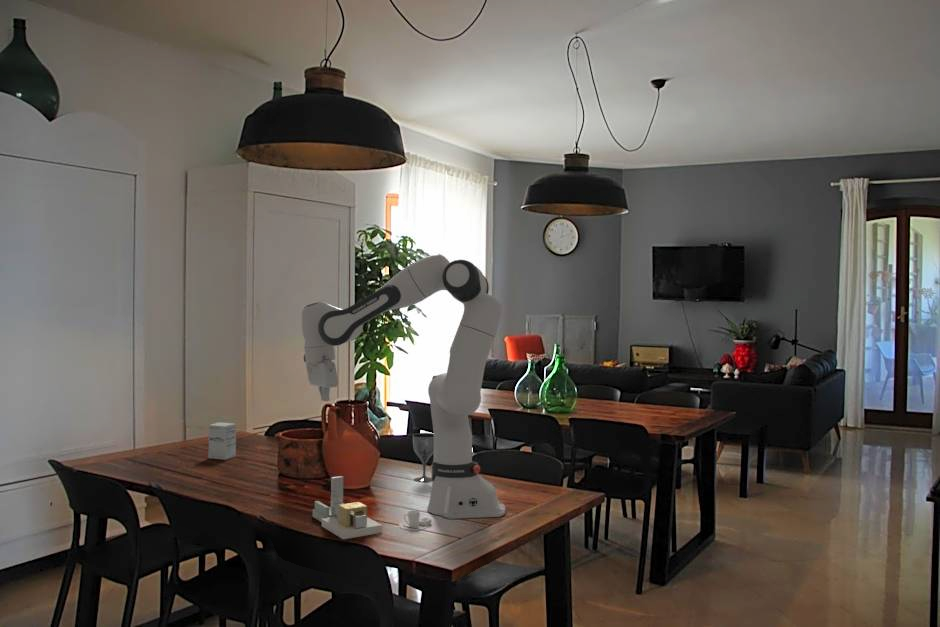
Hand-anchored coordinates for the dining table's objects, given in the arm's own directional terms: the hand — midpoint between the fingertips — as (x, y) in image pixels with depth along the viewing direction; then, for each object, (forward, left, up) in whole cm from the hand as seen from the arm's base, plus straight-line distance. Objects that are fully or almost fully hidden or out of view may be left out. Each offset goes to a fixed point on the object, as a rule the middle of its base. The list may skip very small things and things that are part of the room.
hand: (325, 400), depth 242 cm
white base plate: (-13, +33, -29) cm, 46 cm away
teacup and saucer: (-32, +31, -30) cm, 53 cm away
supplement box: (+48, -55, -30) cm, 78 cm away
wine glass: (-29, -24, -30) cm, 48 cm away
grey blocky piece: (-6, +23, -29) cm, 38 cm away
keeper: (-13, +35, -27) cm, 46 cm away
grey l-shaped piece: (-12, +33, -27) cm, 44 cm away
